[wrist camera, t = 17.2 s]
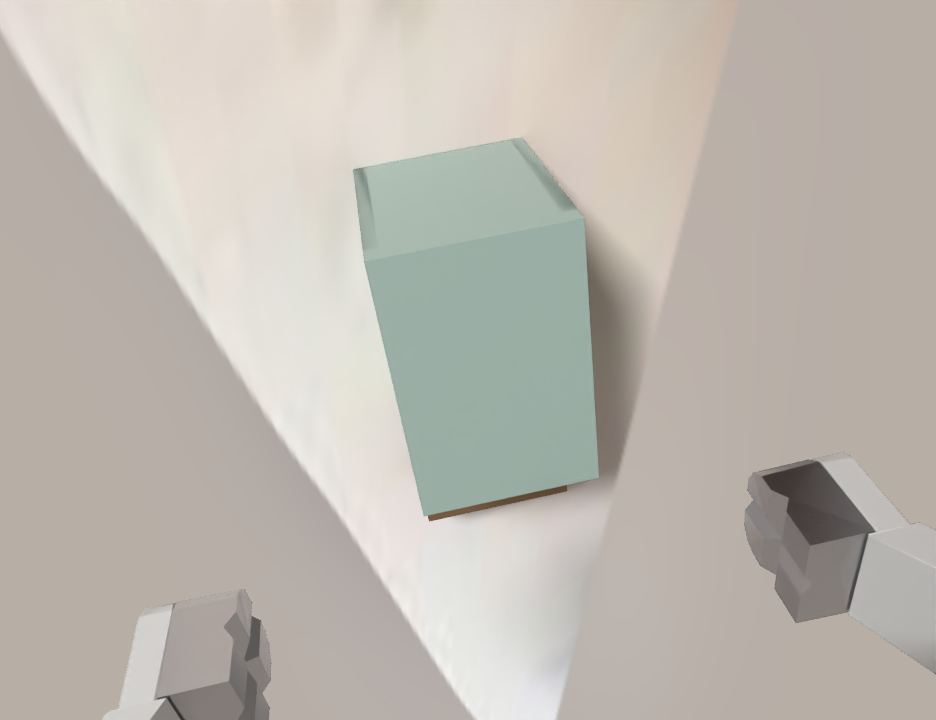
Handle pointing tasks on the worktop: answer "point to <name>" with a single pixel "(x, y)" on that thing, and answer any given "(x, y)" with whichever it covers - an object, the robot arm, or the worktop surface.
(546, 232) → the sage green upright block
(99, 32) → the worktop surface
